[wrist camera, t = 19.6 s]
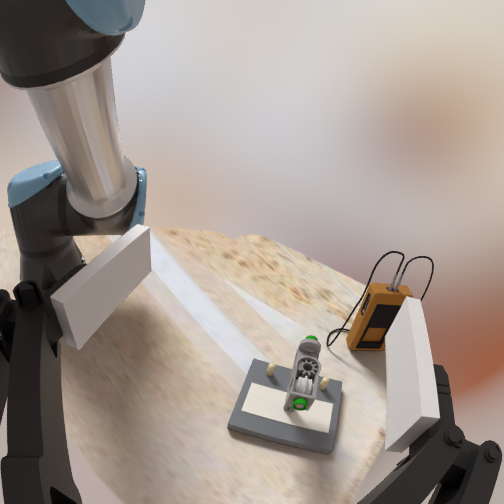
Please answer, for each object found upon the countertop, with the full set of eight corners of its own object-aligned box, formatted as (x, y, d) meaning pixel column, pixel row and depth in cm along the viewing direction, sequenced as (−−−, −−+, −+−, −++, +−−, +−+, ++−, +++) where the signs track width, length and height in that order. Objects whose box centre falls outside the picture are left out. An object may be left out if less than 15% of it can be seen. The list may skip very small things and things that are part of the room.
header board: (227, 428, 37) (229, 416, 35) (252, 364, 47) (255, 350, 45) (328, 454, 35) (338, 444, 33) (339, 387, 45) (346, 374, 43)
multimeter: (385, 315, 60) (423, 230, 50) (400, 351, 52) (449, 262, 41) (318, 311, 60) (349, 217, 49) (327, 350, 51) (367, 251, 40)
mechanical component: (304, 382, 43) (324, 337, 38) (292, 442, 34) (315, 405, 29) (285, 377, 43) (302, 331, 38) (270, 437, 35) (288, 398, 30)
